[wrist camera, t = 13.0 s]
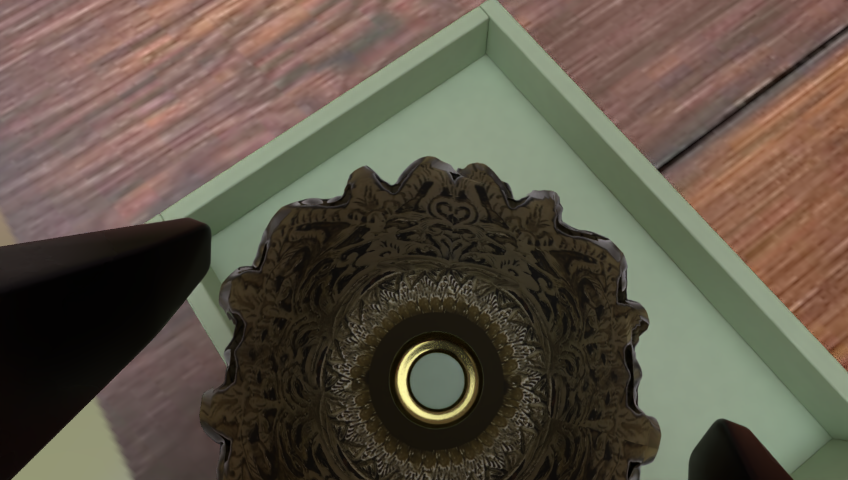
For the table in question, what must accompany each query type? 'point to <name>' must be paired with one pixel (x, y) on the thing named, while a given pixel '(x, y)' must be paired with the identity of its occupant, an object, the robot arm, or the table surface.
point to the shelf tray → (582, 209)
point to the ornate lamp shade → (430, 339)
